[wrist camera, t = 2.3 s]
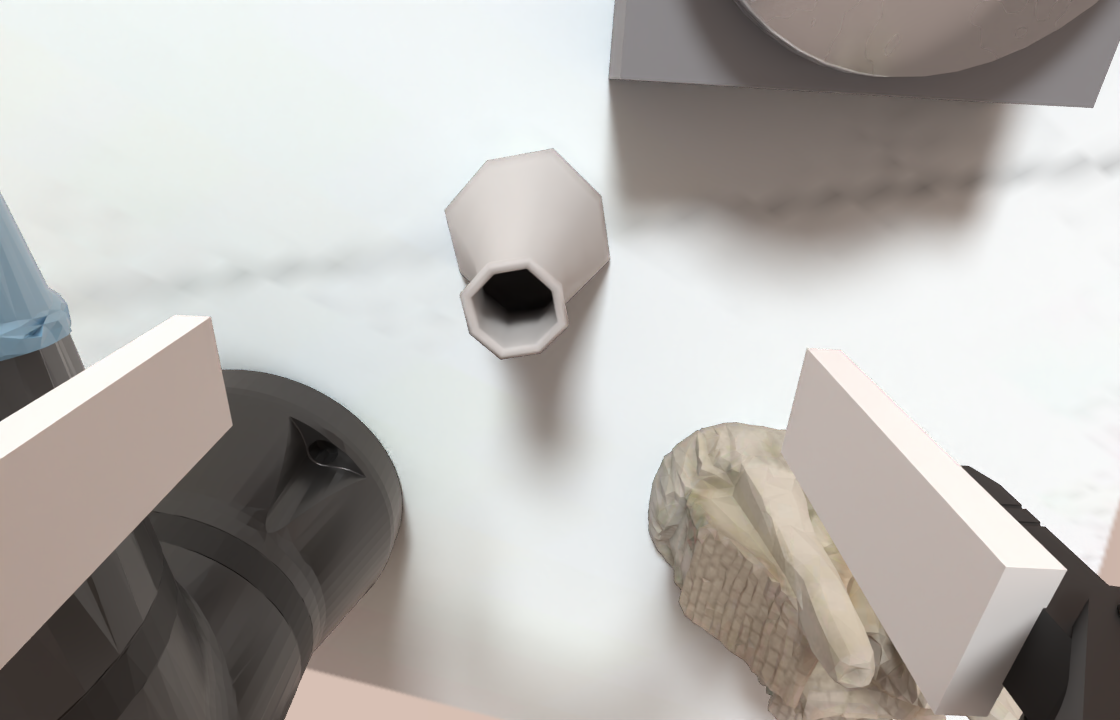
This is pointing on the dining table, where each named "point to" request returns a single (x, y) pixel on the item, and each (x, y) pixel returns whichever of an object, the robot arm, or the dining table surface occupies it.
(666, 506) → the ceramic cottage
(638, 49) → the base
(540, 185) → the flask
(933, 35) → the scale pan
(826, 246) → the dining table surface
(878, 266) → the dining table surface
